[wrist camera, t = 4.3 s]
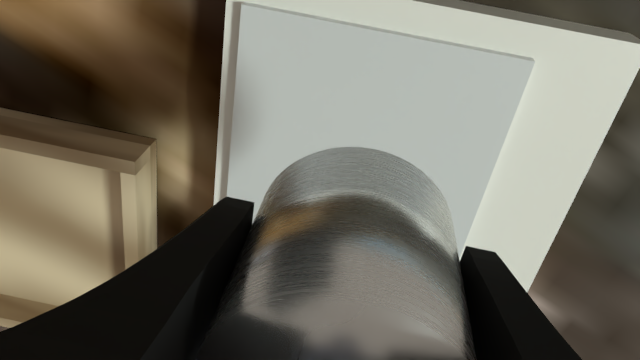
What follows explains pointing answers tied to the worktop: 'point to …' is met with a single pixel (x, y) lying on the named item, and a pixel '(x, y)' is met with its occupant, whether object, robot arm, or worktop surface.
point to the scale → (426, 105)
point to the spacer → (346, 268)
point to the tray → (69, 210)
